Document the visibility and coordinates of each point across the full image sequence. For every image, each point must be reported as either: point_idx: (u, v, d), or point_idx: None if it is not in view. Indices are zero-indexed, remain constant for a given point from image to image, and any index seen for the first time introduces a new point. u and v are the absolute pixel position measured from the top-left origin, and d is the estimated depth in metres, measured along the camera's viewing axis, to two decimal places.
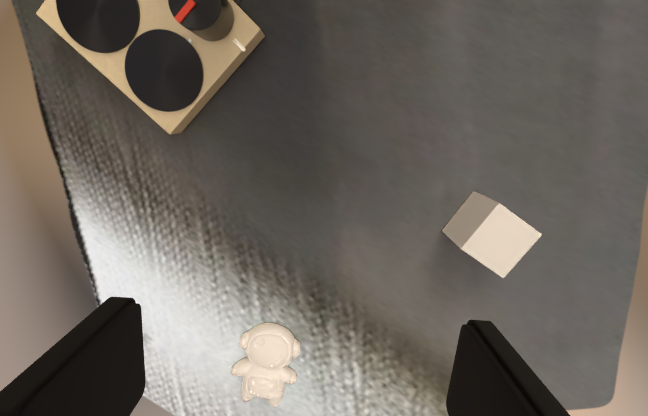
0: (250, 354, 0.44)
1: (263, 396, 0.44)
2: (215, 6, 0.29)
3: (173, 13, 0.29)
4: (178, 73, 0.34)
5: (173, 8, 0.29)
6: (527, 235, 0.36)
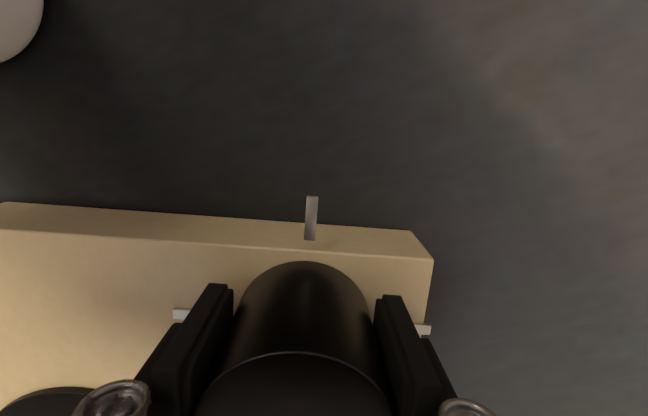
0: None
1: None
2: (369, 410, 0.07)
3: None
4: None
5: None
6: None
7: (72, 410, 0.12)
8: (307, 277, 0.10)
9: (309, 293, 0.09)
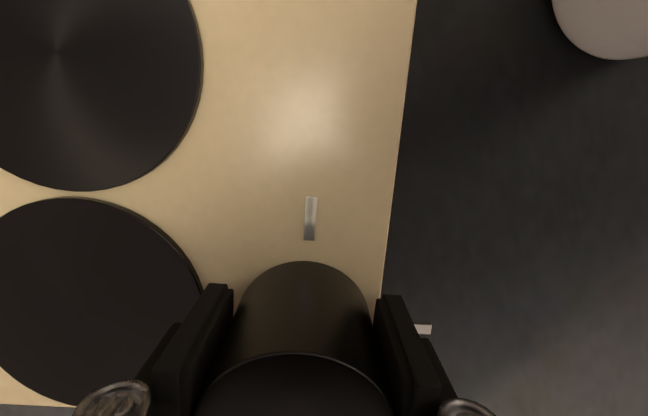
0: None
1: None
2: (369, 411, 0.07)
3: None
4: (117, 344, 0.12)
5: None
6: None
7: (171, 59, 0.09)
8: (307, 277, 0.10)
9: (309, 293, 0.09)
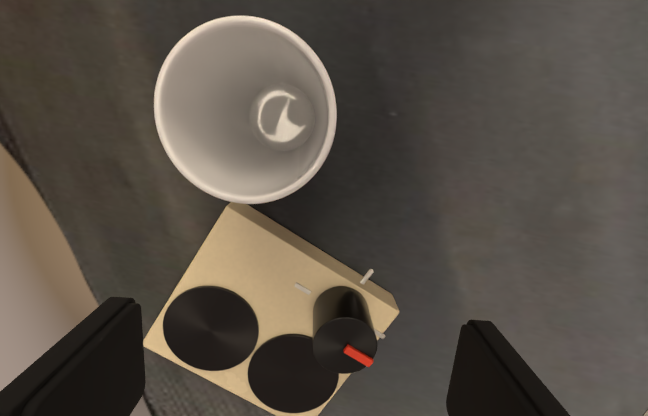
0: None
1: None
2: (346, 323, 0.23)
3: (362, 367, 0.24)
4: (310, 374, 0.29)
5: (356, 367, 0.24)
6: None
7: (229, 301, 0.27)
8: (318, 304, 0.26)
9: (318, 310, 0.25)
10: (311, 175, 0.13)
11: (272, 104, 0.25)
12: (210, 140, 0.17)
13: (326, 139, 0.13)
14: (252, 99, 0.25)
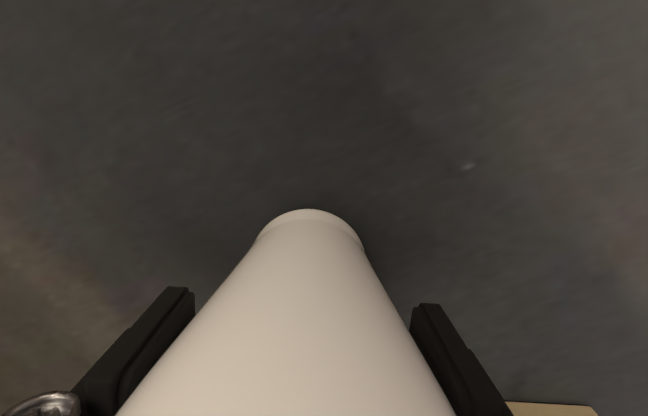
0: None
1: None
2: None
3: None
4: None
5: None
6: None
7: None
8: None
9: None
10: None
11: None
12: None
13: None
14: None
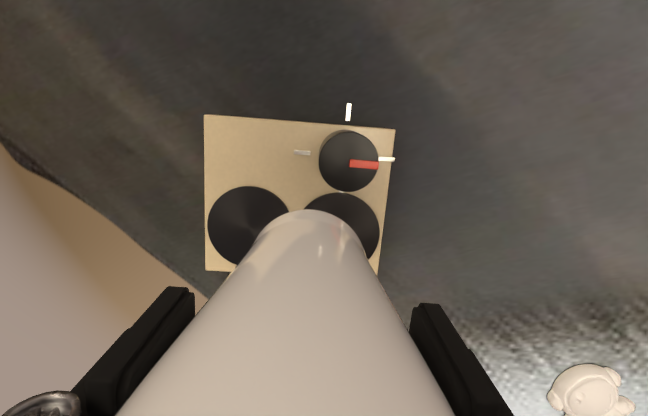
0: (576, 412, 0.38)
1: None
2: (338, 140, 0.25)
3: (374, 173, 0.26)
4: (350, 225, 0.31)
5: (369, 176, 0.26)
6: None
7: (250, 195, 0.30)
8: None
9: None
10: None
11: None
12: None
13: None
14: None
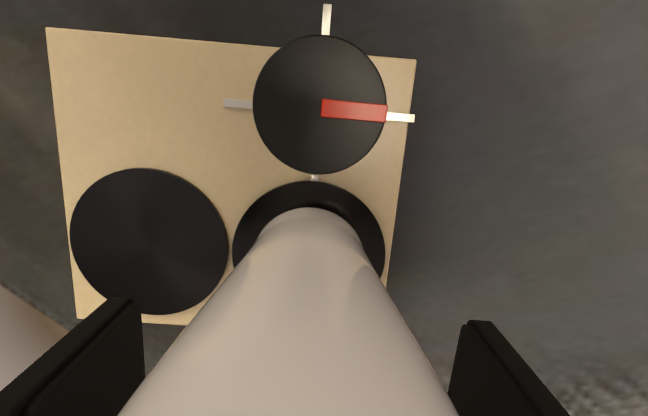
0: None
1: None
2: (294, 56, 0.11)
3: (376, 133, 0.12)
4: None
5: (365, 139, 0.12)
6: None
7: (145, 184, 0.16)
8: None
9: None
10: None
11: None
12: None
13: None
14: None
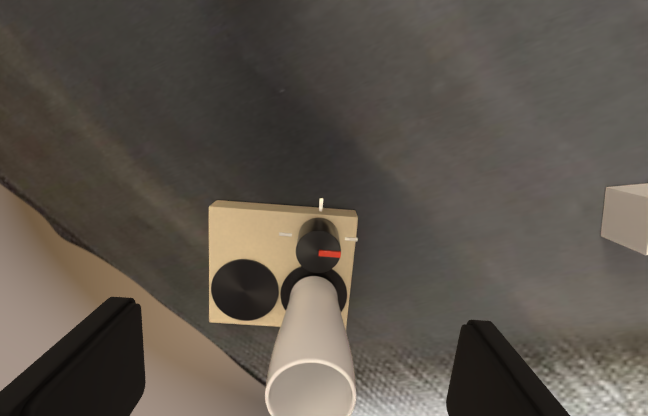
0: None
1: None
2: (310, 237, 0.33)
3: (337, 260, 0.34)
4: None
5: (334, 262, 0.34)
6: None
7: (245, 266, 0.38)
8: None
9: (297, 240, 0.36)
10: (353, 406, 0.25)
11: None
12: (290, 377, 0.30)
13: (352, 390, 0.25)
14: None
